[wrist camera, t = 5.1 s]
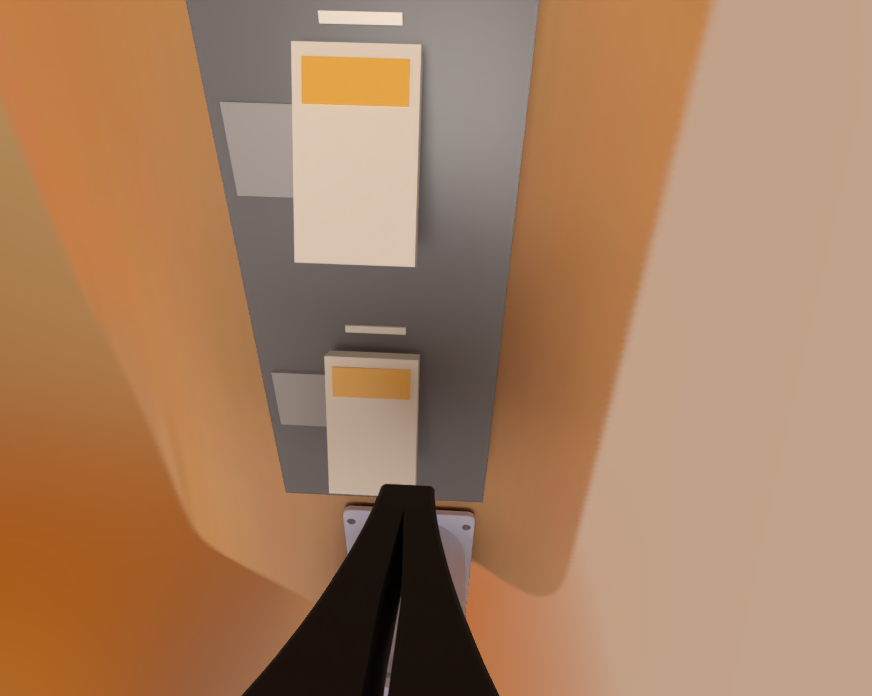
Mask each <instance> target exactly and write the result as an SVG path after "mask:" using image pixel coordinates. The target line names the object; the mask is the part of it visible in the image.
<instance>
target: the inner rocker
mask: <svg viewBox="0 0 872 696" xmlns="http://www.w3.org/2000/svg"><path fill="white" fill-rule="evenodd" d="M324 365H325V393H326V421H327V448H328V476H329V493H333V494H352V495H372V496H378V494H379V491H380V488H381V486H383V485H384V484H402V485H417V447H418V408H419V370H420V354H403V353H380V352H357V351H334V350H330V351H329V352H328V353H327V354H326V355H325V356H324Z"/></svg>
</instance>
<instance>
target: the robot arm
mask: <svg viewBox="0 0 872 696" xmlns="http://www.w3.org/2000/svg"><path fill="white" fill-rule="evenodd" d="M343 521H344V529H345V538H346V546H347V557H346V558H345V560H344V562H343V563H342V565H341V566H340V568H339V570H338V571H337V573H336V574H335V576H334V577H333V579H332V581H331V582H330V584H329V585H328V587H327V588H326V590H325V591H324V593H323V594H322V596H321V597H320V599H319V600H318V602H317V603H316V604H315V606H314V607H313V609H312V610H311V611H310V613H309V614H308V615H307V617H306V618H305V620H304V621H303V622H302V624H301V625H300V626H299V628H298V629H297V630H296V631H295V633H294V634H293V635H292V637H291V638H290V639H289V640H288V642H287V643H286V644H285V645H284V647H283V648H282V649H281V650H280V652H279V653H278V654H277V656H276V657H275V658H274V659H273V660H272V662H271V663H270V664H269V665H268V666H267V667H266V669H265V670H264V671H263V672H262V673H261V674H260V676H259V677H258V678H257V679H256V680H255V681H254V682H253V683H252V685H251V686H250V687H249V688H248V689H247V690H246V691H245V692H244V694H243V695H242V696H499V694H498V692H497V690H496V688H495V686H494V684H493V681H492V679H491V677H490V675H489V673H488V671H487V669H486V667H485V665H484V662H483V660H482V658H481V655H480V653H479V651H478V648H477V646H476V643H475V641H474V639H473V636H472V633H471V631H470V628H469V626H468V623H467V621H466V604H467V594H468V585H469V575H470V565H471V556H472V546H473V536H474V526H475V516H474V514H473V513H471V512H467V511H448V510H436V508H435V489H434V488H433V487H431V486H421V485H402V484H384V485H383V486H381V488H380V491H379V494H378V496H377V499H376V501H375V503H374V506H373V507H371V506H347V507H345V509H344V512H343Z"/></svg>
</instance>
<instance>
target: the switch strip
mask: <svg viewBox="0 0 872 696" xmlns="http://www.w3.org/2000/svg"><path fill="white" fill-rule="evenodd" d="M186 4H187V9H188V14H189V19H190V24H191V29H192V34H193V39H194V44H195V48H196V53H197V58H198V63H199V68H200V73H201V78H202V83H203V88H204V93H205V98H206V102H207V107H208V112H209V117H210V122H211V127H212V132H213V137H214V142H215V147H216V152H217V156H218V161H219V166H220V171H221V176H222V181H223V186H224V191H225V196H226V201H227V206H228V210H229V215H230V220H231V225H232V230H233V235H234V240H235V245H236V250H237V255H238V260H239V264H240V269H241V274H242V279H243V284H244V289H245V294H246V299H247V304H248V309H249V314H250V318H251V323H252V328H253V333H254V338H255V343H256V348H257V353H258V358H259V363H260V368H261V372H262V377H263V382H264V387H265V392H266V397H267V402H268V407H269V412H270V417H271V422H272V426H273V431H274V436H275V441H276V446H277V451H278V456H279V461H280V466H281V471H282V476H283V480H284V485H285V490H286V492H287V493H306V494H326V495H345V496H365V497H377V496H372V495H352V494H333V493H329V476H328V448H327V421H326V393H325V365H324V356H325V355H326V354H327V353H328V352H329V351H330V350H334V351H357V352H380V353H403V354H420V370H419V408H418V447H417V485H421V486H431V487H433V488H434V489H435V500H443V501H463V502H483V496H484V487H485V479H486V470H487V461H488V452H489V443H490V434H491V425H492V416H493V407H494V398H495V390H496V381H497V372H498V363H499V354H500V345H501V336H502V327H503V318H504V309H505V301H506V292H507V283H508V274H509V265H510V256H511V247H512V238H513V229H514V221H515V212H516V203H517V194H518V185H519V176H520V167H521V158H522V149H523V140H524V132H525V123H526V114H527V105H528V96H529V87H530V78H531V69H532V60H533V51H534V43H535V34H536V25H537V16H538V7H539V0H186ZM291 41H312V42H350V43H388V44H421V46H422V54H423V77H422V110H421V143H420V176H419V208H418V241H417V267H395V266H369V265H343V264H317V263H296V262H294V204H293V139H292V74H291Z"/></svg>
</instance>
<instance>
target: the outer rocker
mask: <svg viewBox="0 0 872 696" xmlns="http://www.w3.org/2000/svg"><path fill="white" fill-rule="evenodd" d="M291 74H292V139H293V204H294V262H296V263H317V264H343V265H369V266H395V267H417V241H418V208H419V176H420V143H421V110H422V77H423V54H422V46H421V44H388V43H350V42H312V41H291Z"/></svg>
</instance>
